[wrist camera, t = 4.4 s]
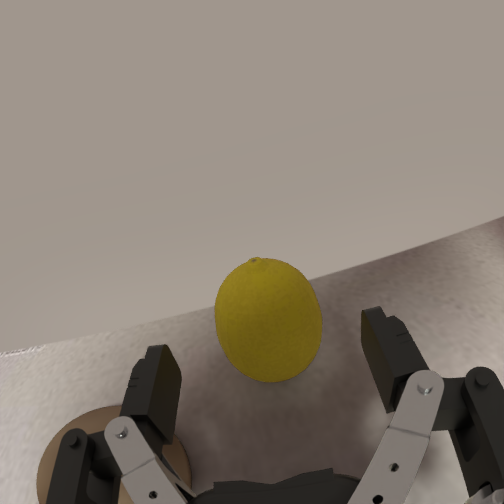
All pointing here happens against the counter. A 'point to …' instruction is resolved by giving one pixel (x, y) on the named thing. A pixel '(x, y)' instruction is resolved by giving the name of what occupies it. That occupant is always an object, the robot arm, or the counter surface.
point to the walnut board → (96, 423)
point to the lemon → (268, 320)
